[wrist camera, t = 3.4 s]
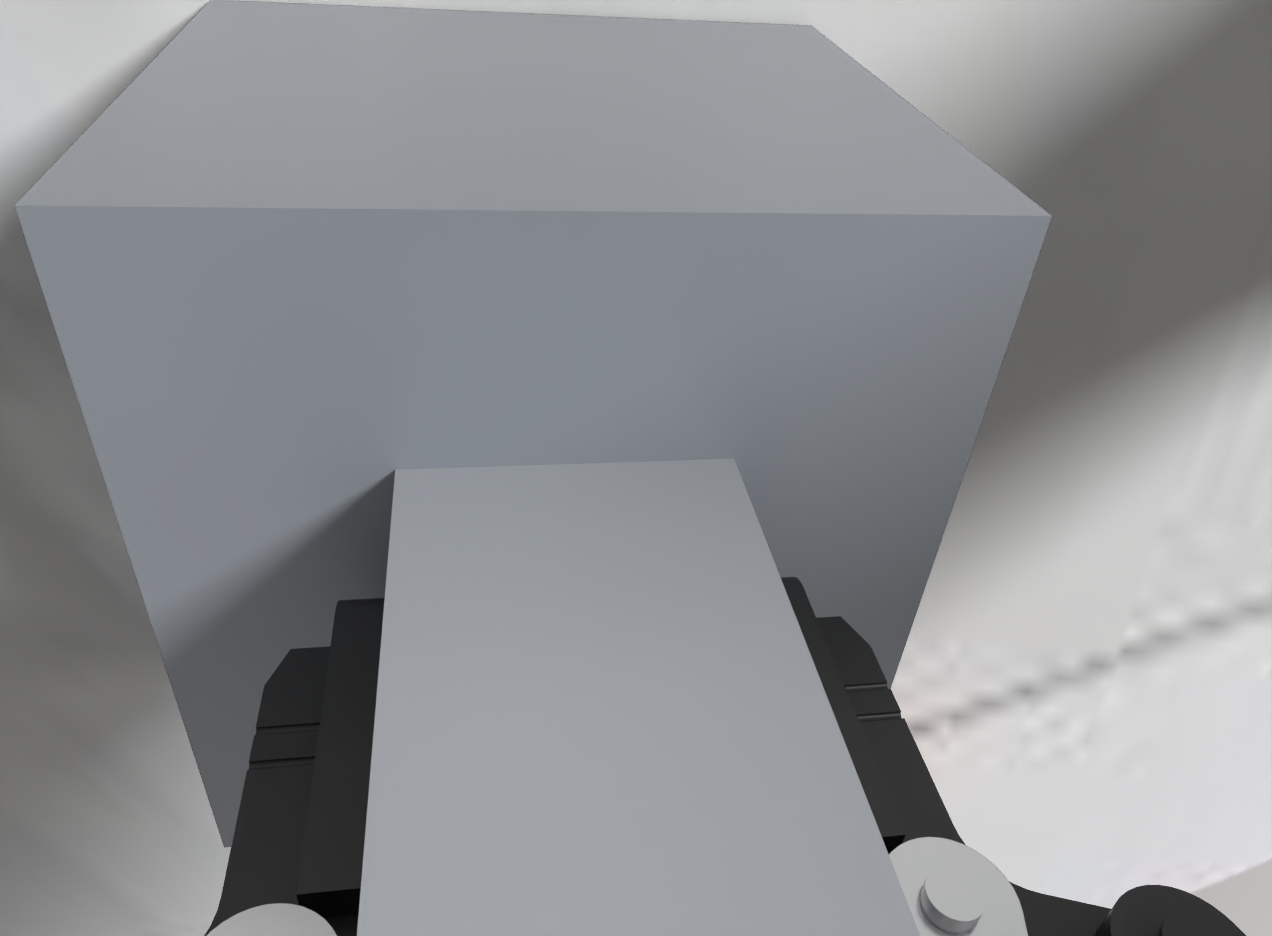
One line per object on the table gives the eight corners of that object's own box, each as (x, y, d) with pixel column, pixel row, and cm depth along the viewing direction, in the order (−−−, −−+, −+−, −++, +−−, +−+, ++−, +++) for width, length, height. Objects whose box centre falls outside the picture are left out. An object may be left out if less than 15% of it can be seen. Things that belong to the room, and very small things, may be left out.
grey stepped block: (811, 25, 17) (1563, 620, 6) (736, 477, 23) (1019, 1215, 12) (210, -1, 16) (-524, 768, 4) (298, 493, 22) (114, 1371, 10)
